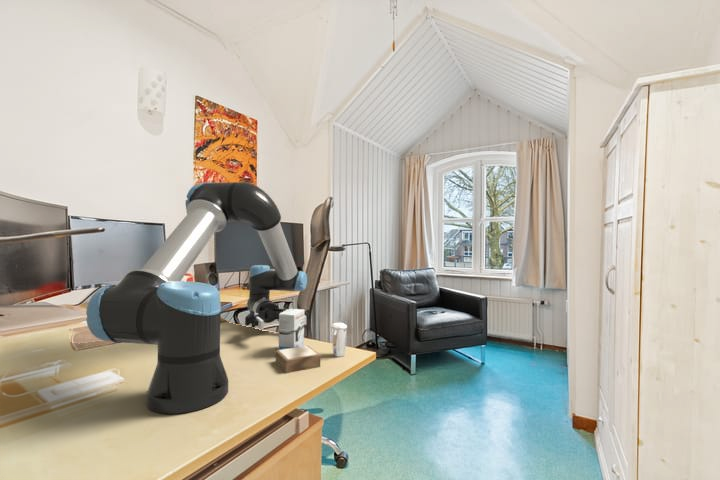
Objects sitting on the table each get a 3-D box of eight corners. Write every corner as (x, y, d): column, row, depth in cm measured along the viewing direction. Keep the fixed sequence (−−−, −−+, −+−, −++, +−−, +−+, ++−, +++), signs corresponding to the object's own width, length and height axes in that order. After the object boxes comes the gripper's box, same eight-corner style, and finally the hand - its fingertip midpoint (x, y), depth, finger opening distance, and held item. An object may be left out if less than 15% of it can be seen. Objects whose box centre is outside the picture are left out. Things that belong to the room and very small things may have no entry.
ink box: (294, 357, 96) (294, 314, 96) (277, 355, 97) (278, 313, 97) (305, 347, 105) (305, 308, 105) (289, 346, 106) (290, 308, 106)
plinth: (286, 373, 85) (286, 360, 85) (275, 361, 93) (275, 349, 93) (320, 366, 89) (320, 354, 89) (307, 356, 97) (307, 344, 97)
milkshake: (349, 357, 96) (349, 321, 96) (329, 357, 96) (330, 321, 96) (350, 352, 101) (350, 318, 100) (331, 352, 101) (331, 317, 101)
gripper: (229, 303, 119) (242, 314, 101) (299, 297, 132) (321, 307, 113) (229, 324, 119) (242, 340, 101) (298, 317, 132) (321, 330, 113)
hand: (284, 323), depth 107 cm, fingers open, 13 cm apart
